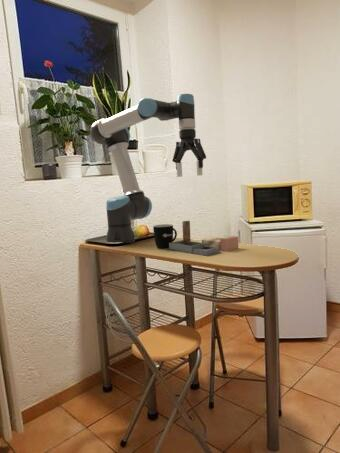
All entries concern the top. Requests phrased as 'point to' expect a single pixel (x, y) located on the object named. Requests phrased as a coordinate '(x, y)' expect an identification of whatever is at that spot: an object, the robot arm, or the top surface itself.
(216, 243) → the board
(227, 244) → the block
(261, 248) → the top surface
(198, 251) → the socket
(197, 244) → the tray
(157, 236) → the mug
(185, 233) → the dowel
